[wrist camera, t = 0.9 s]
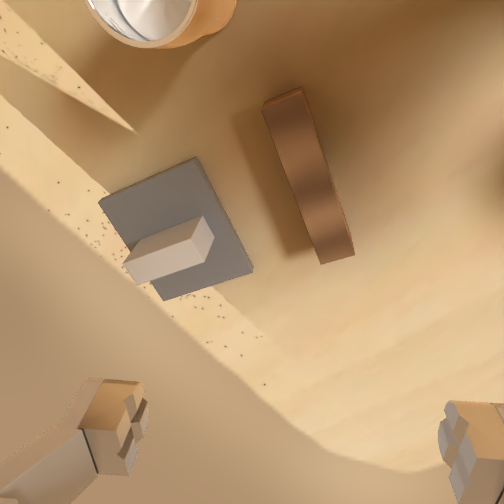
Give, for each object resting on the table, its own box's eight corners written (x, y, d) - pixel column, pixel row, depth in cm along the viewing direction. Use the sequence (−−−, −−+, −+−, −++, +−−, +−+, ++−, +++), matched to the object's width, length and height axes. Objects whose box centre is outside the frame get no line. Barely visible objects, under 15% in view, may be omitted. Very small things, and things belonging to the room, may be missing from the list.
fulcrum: (196, 156, 40) (179, 178, 35) (253, 266, 46) (246, 299, 41) (102, 198, 44) (73, 223, 38) (166, 295, 50) (149, 329, 44)
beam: (265, 101, 37) (261, 110, 33) (301, 86, 36) (301, 93, 32) (319, 243, 44) (320, 264, 40) (350, 233, 43) (355, 254, 39)
